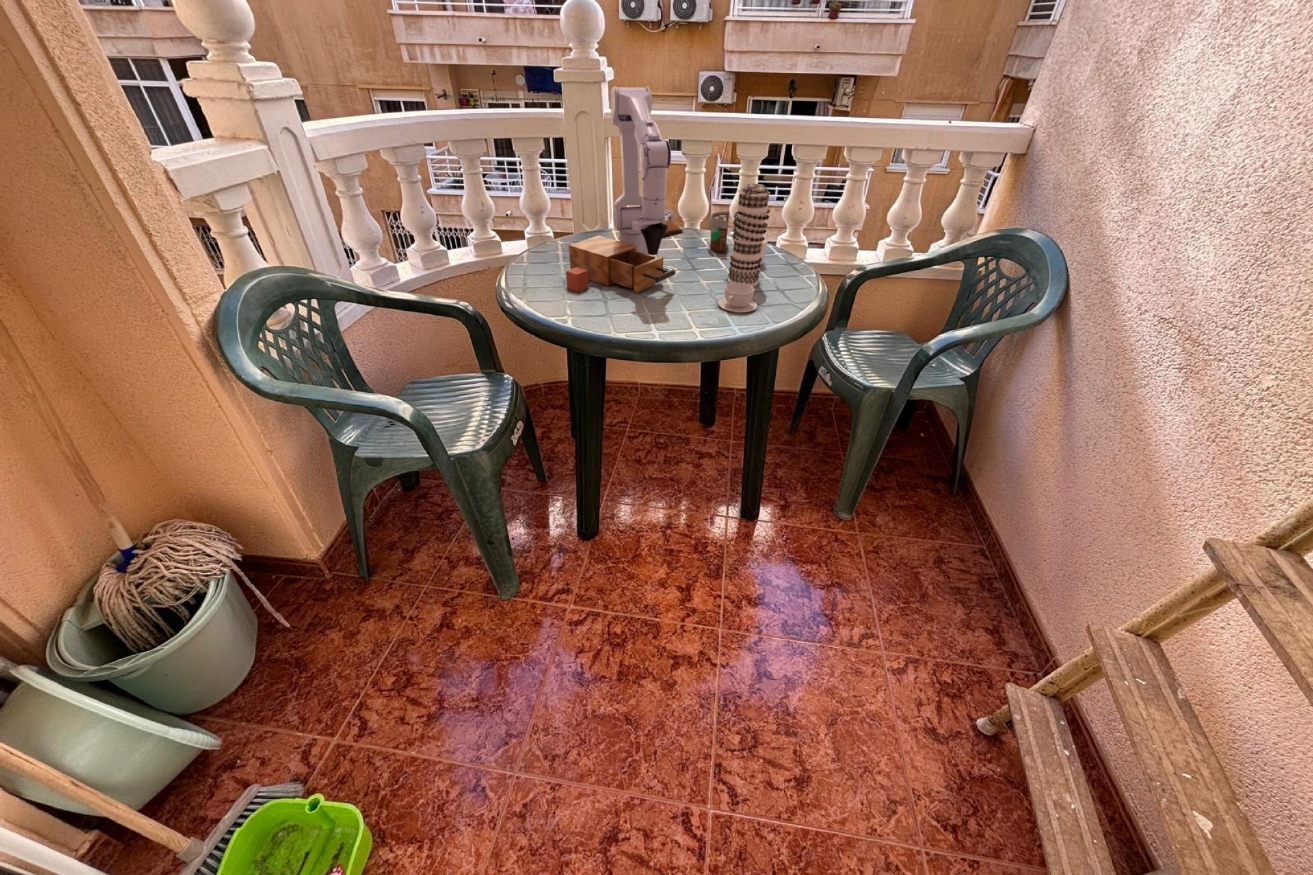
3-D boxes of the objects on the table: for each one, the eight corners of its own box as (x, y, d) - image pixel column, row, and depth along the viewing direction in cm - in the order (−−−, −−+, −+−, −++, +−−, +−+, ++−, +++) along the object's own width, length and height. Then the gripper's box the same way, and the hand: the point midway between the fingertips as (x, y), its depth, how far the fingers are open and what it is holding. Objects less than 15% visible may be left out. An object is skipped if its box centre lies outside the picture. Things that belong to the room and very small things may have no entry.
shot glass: (737, 261, 163) (740, 237, 159) (756, 258, 165) (759, 235, 161) (749, 268, 158) (752, 244, 154) (768, 266, 160) (772, 242, 156)
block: (577, 284, 145) (576, 266, 142) (588, 288, 143) (587, 270, 140) (567, 288, 142) (565, 270, 139) (577, 292, 140) (576, 274, 137)
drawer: (679, 285, 144) (680, 262, 140) (654, 297, 137) (654, 273, 133) (626, 269, 153) (625, 246, 149) (600, 279, 146) (599, 256, 142)
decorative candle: (765, 286, 147) (780, 189, 132) (734, 289, 145) (746, 190, 130) (751, 274, 154) (764, 181, 139) (721, 277, 152) (731, 182, 137)
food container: (707, 241, 178) (710, 210, 172) (726, 242, 177) (729, 211, 171) (705, 253, 168) (708, 220, 162) (725, 254, 167) (728, 221, 161)
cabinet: (636, 274, 152) (636, 246, 147) (607, 286, 144) (607, 256, 139) (599, 262, 159) (598, 235, 154) (570, 273, 151) (568, 245, 146)
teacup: (729, 295, 141) (731, 278, 139) (763, 304, 137) (766, 287, 134) (710, 307, 135) (712, 289, 132) (745, 317, 130) (748, 299, 128)
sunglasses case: (649, 241, 175) (642, 220, 173) (636, 247, 180) (629, 228, 179) (685, 230, 185) (678, 211, 184) (672, 237, 191) (665, 218, 189)
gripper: (648, 206, 122) (647, 265, 130) (684, 195, 131) (681, 250, 139) (624, 200, 125) (625, 258, 133) (662, 190, 134) (660, 244, 142)
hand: (652, 254), depth 136 cm, fingers closed
